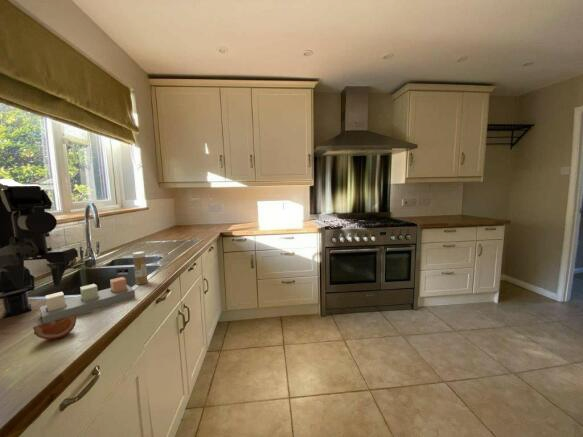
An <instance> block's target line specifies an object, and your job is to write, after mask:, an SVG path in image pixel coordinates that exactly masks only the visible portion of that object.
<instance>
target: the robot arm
mask: <svg viewBox="0 0 583 437" xmlns="http://www.w3.org/2000/svg"><path fill="white" fill-rule="evenodd" d="M52 205H53V202H52V200H51V199H50V197H49V195H48V193H47V192H46V191H45V188H42V186H40V185H39V184H21V183H19V182H16V180H15V179H11V178H7V179H6V178H1V179H0V300H1V301H2V307H3V310H2V318H8V317H12V316H14V315H19V314H22V313H26V312H30V311H32V309H33V308H32V304H31V303H30V301H29V297H28V296H29V294H28V293H29V292H32V291H35V289H36V287H35V282H36V277H35V276H33V274H32V273H31V271H30V270H29V268H27V267H26V266H25V261H39V260H46V261H47V262H48V263H47V264H46V266H47V267H48V268H49V269H50V271H51V278H52V283H53V286H54V287H57V286H59V285H60V283H61V281H62V279H63V276H64V275H65V274H64V273H65V271H66V270H67V268H68V266H69V264H70V262H71V261H74V259H75V258H78V257H79V251H78V249H76V247H63V248H61V247H60V248H58V249H54V250H52V246H48V244H47V238H48V237H50V232H52V231H53V230H54V229H55V228H56V227H57V223H58V221H57V218H56V217H55V215H53V213H50V212H48V211H45V210H52V208H53V207H52Z"/></svg>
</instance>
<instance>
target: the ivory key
mask: <svg viewBox="0 0 583 437" xmlns="http://www.w3.org/2000/svg"><path fill="white" fill-rule="evenodd" d="M44 297H45V305H47V310H48V312H49V311H53V310H56V309H60V308H64V307H66V305H65V300H66V299H65V295H64V292H63V291H59V292H55V293H50V294H47V295H45V296H44Z"/></svg>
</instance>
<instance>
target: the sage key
mask: <svg viewBox="0 0 583 437" xmlns="http://www.w3.org/2000/svg"><path fill="white" fill-rule="evenodd" d="M79 289H80V296H81V298H82V301H83V302H85V301H88V300H92V299H96V298H99V296H98V291H99V290H98V285H97V284H95V283H92V284H87V285H83V286H80V287H79Z"/></svg>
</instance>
